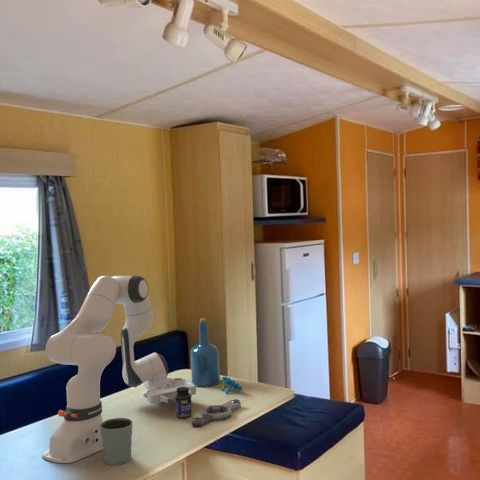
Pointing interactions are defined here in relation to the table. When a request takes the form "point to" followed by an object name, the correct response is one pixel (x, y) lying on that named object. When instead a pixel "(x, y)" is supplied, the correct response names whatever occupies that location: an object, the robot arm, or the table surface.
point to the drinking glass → (116, 440)
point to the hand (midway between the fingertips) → (179, 398)
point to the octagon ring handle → (209, 418)
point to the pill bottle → (183, 403)
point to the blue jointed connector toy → (230, 384)
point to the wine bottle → (204, 359)
